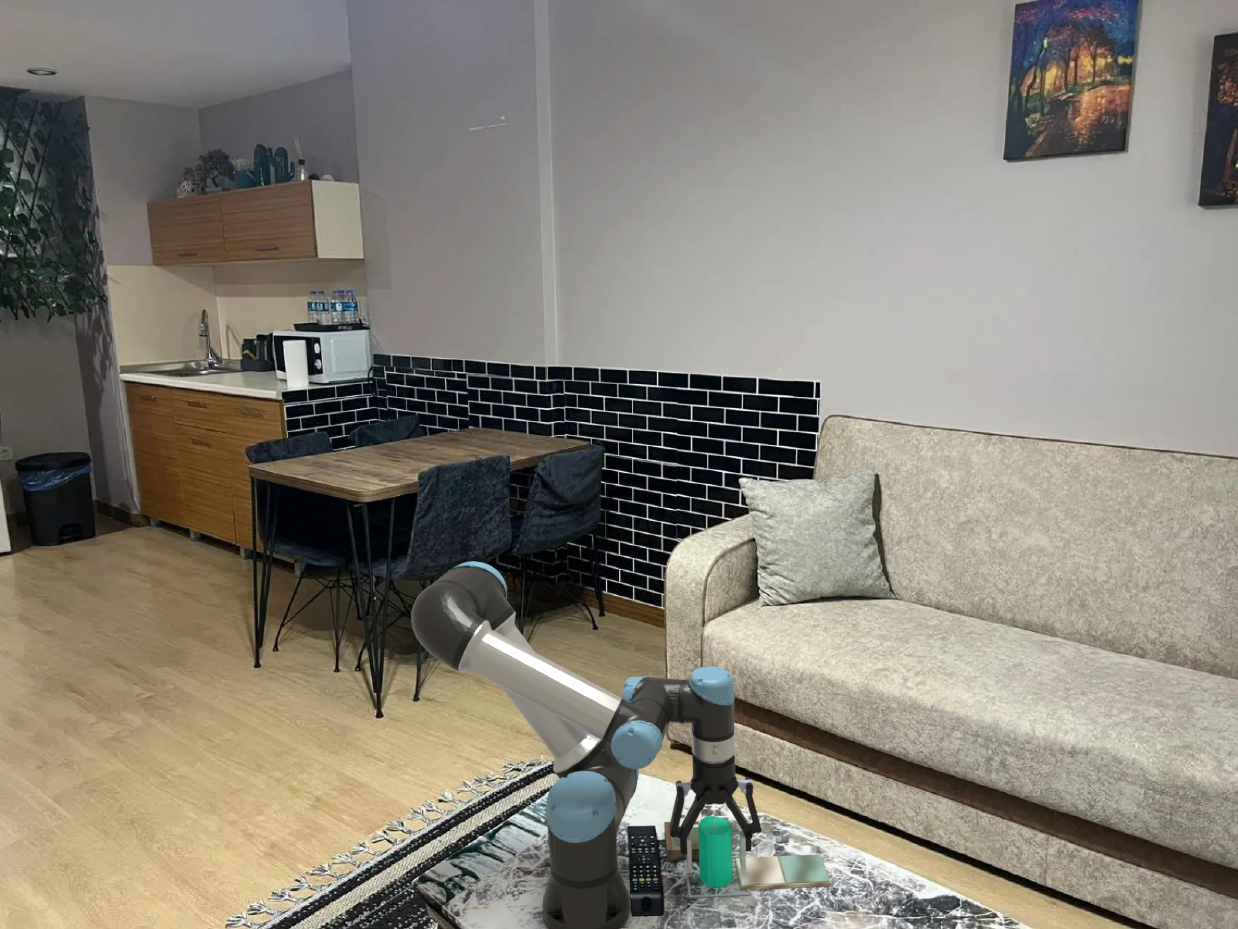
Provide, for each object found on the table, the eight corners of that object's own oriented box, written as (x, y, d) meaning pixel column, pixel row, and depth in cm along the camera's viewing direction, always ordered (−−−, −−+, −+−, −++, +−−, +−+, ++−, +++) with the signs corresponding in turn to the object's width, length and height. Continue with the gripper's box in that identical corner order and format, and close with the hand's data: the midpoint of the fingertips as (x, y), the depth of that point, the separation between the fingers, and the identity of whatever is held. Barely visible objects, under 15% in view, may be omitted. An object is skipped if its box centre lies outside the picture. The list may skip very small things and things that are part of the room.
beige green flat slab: (741, 890, 163) (741, 885, 163) (735, 862, 171) (734, 857, 171) (830, 886, 163) (831, 881, 163) (820, 858, 171) (820, 853, 171)
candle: (693, 872, 169) (691, 813, 166) (721, 862, 171) (720, 804, 169) (710, 891, 163) (708, 831, 161) (739, 881, 166) (738, 821, 163)
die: (678, 852, 174) (677, 828, 173) (675, 836, 179) (674, 812, 178) (704, 850, 174) (704, 826, 173) (701, 834, 179) (700, 811, 178)
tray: (667, 861, 172) (667, 850, 171) (664, 833, 181) (664, 822, 180) (720, 859, 172) (720, 847, 172) (715, 830, 181) (715, 819, 180)
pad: (688, 898, 162) (688, 897, 162) (683, 859, 172) (683, 858, 172) (751, 895, 162) (751, 894, 162) (741, 856, 173) (741, 855, 173)
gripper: (653, 768, 158) (657, 883, 163) (778, 762, 159) (779, 877, 163) (651, 746, 166) (655, 857, 170) (771, 740, 166) (772, 851, 170)
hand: (716, 867), depth 167 cm, fingers open, 9 cm apart
